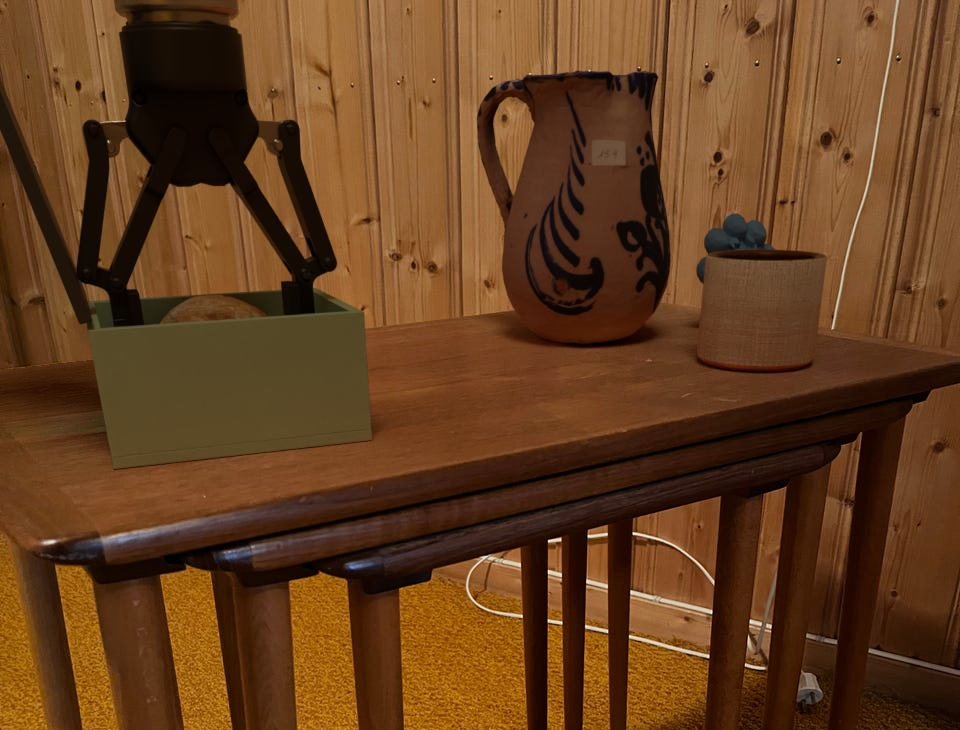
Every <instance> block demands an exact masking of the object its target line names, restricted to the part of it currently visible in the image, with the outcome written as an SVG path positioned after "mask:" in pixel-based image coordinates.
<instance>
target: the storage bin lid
mask: <svg viewBox="0 0 960 730" xmlns="http://www.w3.org/2000/svg"><path fill="white" fill-rule="evenodd" d="M0 133H1V136H2V138H3V140H4V143H5V147H6V148H7V150H8V153H9V156H10V158H11V160H12V162H13V165H14V168H15V170H16V172H17V175H18V178H19V180H20V182H21V185H22V187H23V190H24V192H25V195H26V198H27V199H28V202H29V204H30V207H31V209H32V213H33V214H34V216H35V219H36V221H37V224H38V226H39V229H40V231H41V234H42V236H43V239H44V241H45V244H46V246H47V248H48V251H49V253H50V256H51V258H52V261H53V263H54V266H55V268H56V271H57V273H58V275H59V279H60V280H61V284H62V285H63V288H64V290H65V292H66V296H67V298H68V300H69V302H70V305H71V308H72V310H73V312H74V315H75V316H76V320H77V323H78V324H79V325H84V324H86V323H88V322H91V321H92V317H91V313H90V309H89V304H88V301H89V300H88V296H87V292H86V290H85V287H84V285H83V284H84V283H82V282H81V281H80V280H79V279H78V277H77V272H76V267H77V266H76V265H75V262H74V259H73V257H72V254H71V252H70V249H69V247H68V244H67V242H66V239H65V237H64V234H63V232H62V229H61V227H60V224H59V221H58V219H57V217H56V214H55V212H54V211H55V210H54V209H53V206H52V204H51V202H50V199H49V197H48V194H47V191H46V189H45V187H44V184H43V181H42V179H41V176H40V174H39V171H38V169H37V166H36V164H35V162H34V158H33V156H32V153H31V151H30V149H29V146H28V143H27V142H26V138H25V137H24V133H23V131H22V128H21V126H20V124H19V121H18V119H17V116H16V114H15V111H14V108H13V106H12V103H11V100H10V98H9V96H8V94H7V90H6V89H5V86H4V84H3V81H2V79H1V77H0Z"/></svg>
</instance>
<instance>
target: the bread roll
mask: <svg viewBox="0 0 960 730" xmlns="http://www.w3.org/2000/svg"><path fill="white" fill-rule="evenodd" d="M256 317H269V316H267V315H266V314H265V313H264V312H262V311H261V310H260V309H258V308H257V307H255V306H252V305H250V304H248V303H246V302H244V301H241V300H239V299H236V298H233V297H228V296H222V295H207V296H195V297H192V298H190V299H188V300H186V301H184V302H183V303H181V304H179V305H178V306H176V307H174V308H173V309H171V310H170V311H169V312H168V313H167V314H166V316H165V317H164V318H163V319H162V321H161V322H160V324H168V323H183V322H197V321H212V320H227V319H241V318H256Z"/></svg>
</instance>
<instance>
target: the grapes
mask: <svg viewBox="0 0 960 730" xmlns="http://www.w3.org/2000/svg"><path fill="white" fill-rule="evenodd" d="M767 238H768V233H767V229H766V227H765V225H764V224H763V223H762V222H760V221H759V220H757V219H752V220H749V221H748V222H747V221H746V219H745V218H744V217H743V216H742V215H741V214H740V213H733V212H732V213H730V214H729V215H727V216H726V217H725V219H724V221H723V222H722V226H721V227H713V228H711V229H709V230H708V231H707V233H706V235H705V236H704V238H703V239H704V240H703V247H704V249H705V251H706V254H709V253H712V252H718V251H728V250H776V248H775V247H774V246H773V245H771V244H769V243H766V241H767ZM705 262H706V255H705V256H704V257H702V258H701V259H700V260H699V262H698V263H697V265H696V277H697V279H698V280H699V282H700V283H701V284H702V285H703V284H704V273H705Z"/></svg>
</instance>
